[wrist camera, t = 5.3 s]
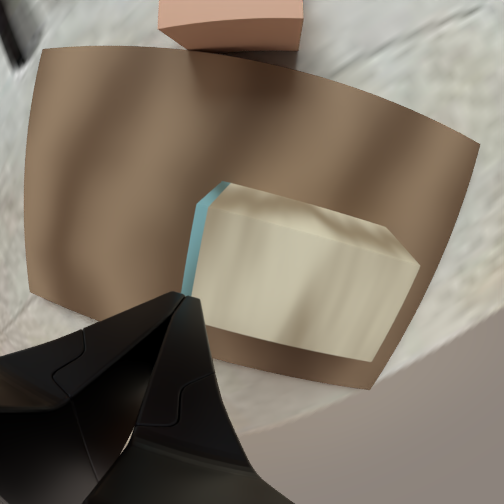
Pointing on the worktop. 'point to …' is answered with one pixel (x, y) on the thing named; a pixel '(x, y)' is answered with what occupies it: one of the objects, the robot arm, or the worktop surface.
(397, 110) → the walnut board
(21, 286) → the worktop surface
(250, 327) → the maple block
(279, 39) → the terracotta cube
